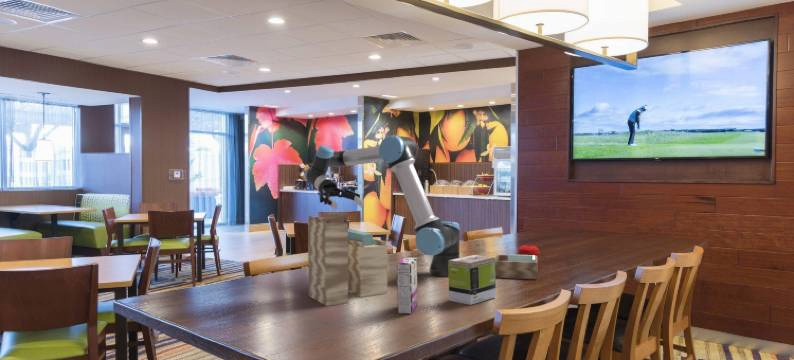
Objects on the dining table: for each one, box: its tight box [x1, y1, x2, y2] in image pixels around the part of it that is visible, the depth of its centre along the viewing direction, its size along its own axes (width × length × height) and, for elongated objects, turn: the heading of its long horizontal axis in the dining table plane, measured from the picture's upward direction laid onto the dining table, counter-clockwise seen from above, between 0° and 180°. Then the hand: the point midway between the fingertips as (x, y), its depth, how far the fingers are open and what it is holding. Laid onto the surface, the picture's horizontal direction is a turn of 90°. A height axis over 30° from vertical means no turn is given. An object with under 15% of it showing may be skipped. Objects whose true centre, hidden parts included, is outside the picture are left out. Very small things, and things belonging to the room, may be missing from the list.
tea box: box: [448, 254, 497, 306], centre depth 190 cm, size 15×10×15 cm, turn 134°
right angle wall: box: [507, 254, 535, 262], centre depth 237 cm, size 12×12×8 cm
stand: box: [307, 213, 349, 307], centre depth 191 cm, size 17×8×31 cm, turn 30°
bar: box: [348, 228, 374, 245], centre depth 213 cm, size 27×4×4 cm, turn 30°
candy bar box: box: [396, 257, 418, 315], centre depth 177 cm, size 11×5×16 cm, turn 168°
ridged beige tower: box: [348, 238, 388, 298], centre depth 207 cm, size 22×11×20 cm, turn 30°
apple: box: [517, 243, 541, 260], centre depth 253 cm, size 10×10×11 cm
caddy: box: [494, 254, 539, 280], centre depth 235 cm, size 18×18×7 cm
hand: (349, 205), depth 232 cm, fingers open, 13 cm apart
